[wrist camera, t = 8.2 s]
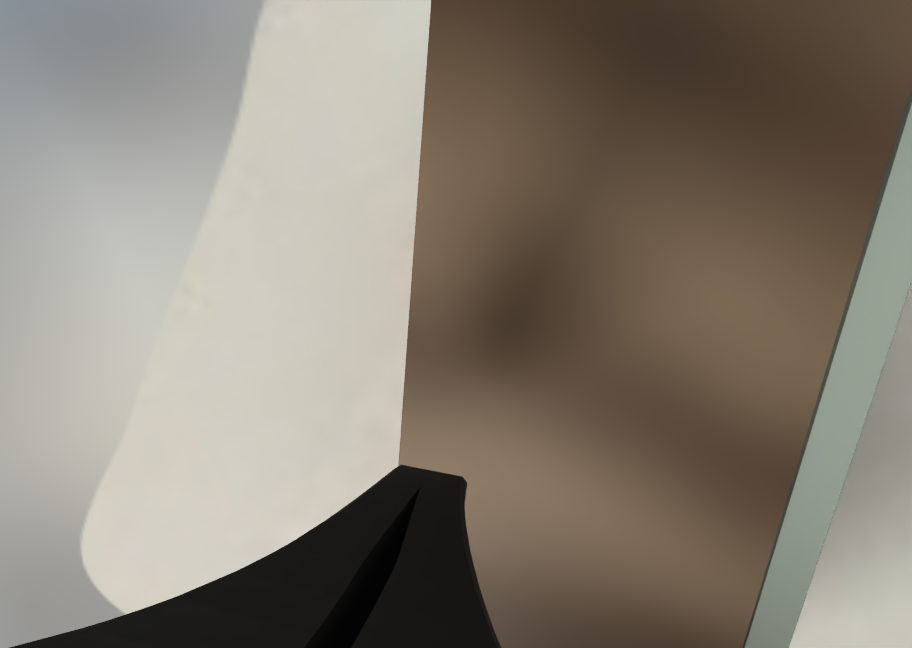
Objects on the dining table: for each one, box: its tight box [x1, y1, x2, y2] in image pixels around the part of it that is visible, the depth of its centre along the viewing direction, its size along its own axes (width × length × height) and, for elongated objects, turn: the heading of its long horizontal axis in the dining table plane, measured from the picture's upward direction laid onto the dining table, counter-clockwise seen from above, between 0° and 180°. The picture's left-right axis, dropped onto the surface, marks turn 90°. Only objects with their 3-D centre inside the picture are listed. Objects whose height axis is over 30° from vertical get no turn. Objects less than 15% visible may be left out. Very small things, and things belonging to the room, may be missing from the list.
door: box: [742, 86, 912, 648], centre depth 15 cm, size 16×2×6 cm, turn 174°
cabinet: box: [399, 0, 912, 648], centre depth 16 cm, size 18×9×6 cm, turn 174°
